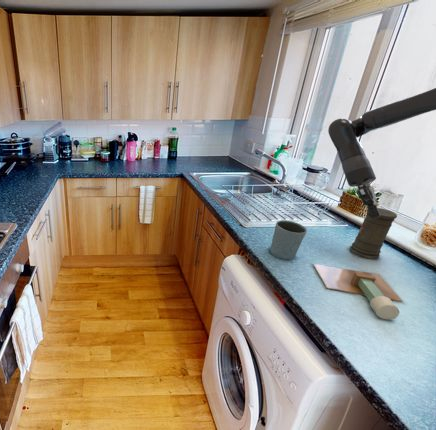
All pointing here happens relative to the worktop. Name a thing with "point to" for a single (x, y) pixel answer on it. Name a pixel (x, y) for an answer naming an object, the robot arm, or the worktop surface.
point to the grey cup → (287, 239)
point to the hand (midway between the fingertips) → (376, 217)
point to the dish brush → (375, 296)
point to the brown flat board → (342, 281)
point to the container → (373, 234)
